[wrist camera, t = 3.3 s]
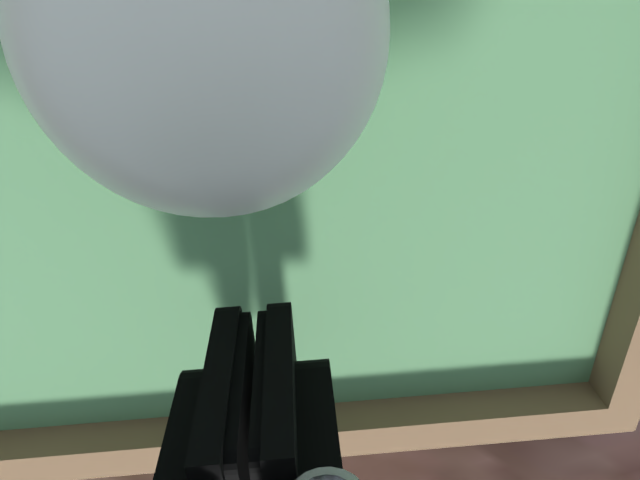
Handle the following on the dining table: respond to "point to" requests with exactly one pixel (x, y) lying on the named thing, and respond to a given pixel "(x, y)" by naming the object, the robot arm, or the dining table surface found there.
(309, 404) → the robot arm
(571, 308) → the putting tray
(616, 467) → the dining table surface
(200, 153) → the ball
